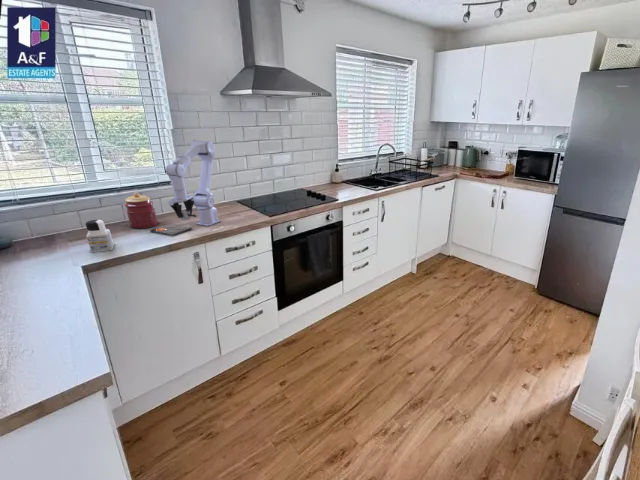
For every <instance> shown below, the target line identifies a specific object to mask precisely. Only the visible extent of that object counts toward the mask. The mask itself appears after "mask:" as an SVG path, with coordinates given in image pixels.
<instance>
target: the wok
mask: <svg viewBox="0 0 640 480" xmlns="http://www.w3.org/2000/svg"><path fill="white" fill-rule="evenodd" d="M181 211H182V218H180V219H181V220H182V221H187V220H190V219H191V218H192V217H193V218H196V217H197V215H196V214H193V213H192V214H190V210H187V209H186V208H185V209H181Z"/></svg>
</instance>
